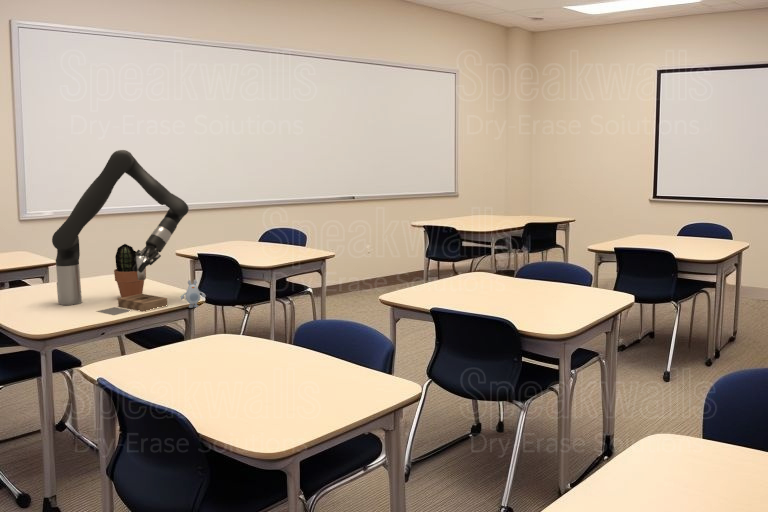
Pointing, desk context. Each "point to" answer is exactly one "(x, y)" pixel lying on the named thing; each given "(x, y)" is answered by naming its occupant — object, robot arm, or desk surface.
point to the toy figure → (192, 294)
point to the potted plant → (127, 272)
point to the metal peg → (139, 261)
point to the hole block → (142, 302)
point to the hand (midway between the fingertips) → (136, 270)
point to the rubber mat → (114, 311)
